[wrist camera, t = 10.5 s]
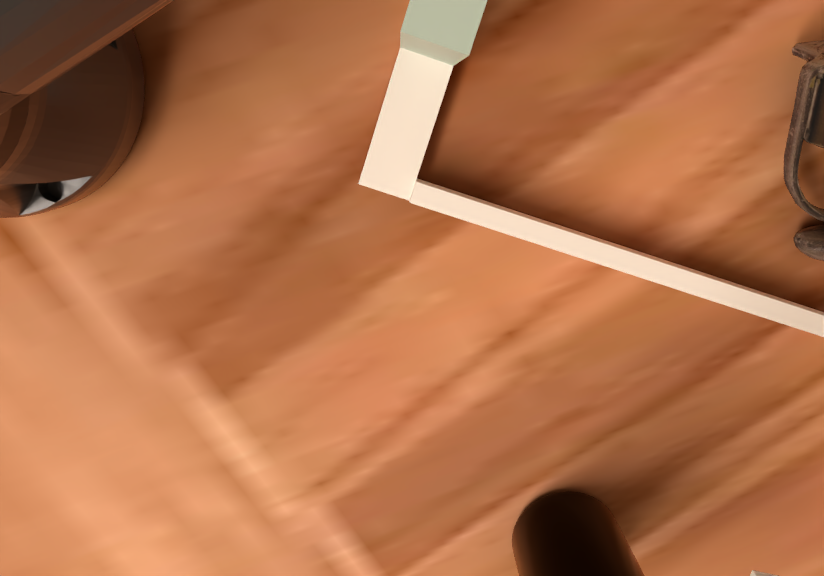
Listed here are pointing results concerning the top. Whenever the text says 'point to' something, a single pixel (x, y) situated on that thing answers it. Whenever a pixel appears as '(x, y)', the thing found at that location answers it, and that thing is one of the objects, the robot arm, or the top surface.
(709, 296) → the light grey frame
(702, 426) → the top surface
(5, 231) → the top surface
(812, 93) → the brown spool with wire
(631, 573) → the battery
